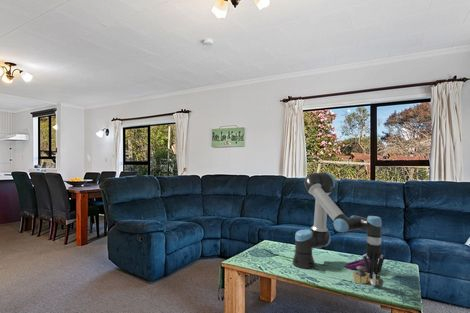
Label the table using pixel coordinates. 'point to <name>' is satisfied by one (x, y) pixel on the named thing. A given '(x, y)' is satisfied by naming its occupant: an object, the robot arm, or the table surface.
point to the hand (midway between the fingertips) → (372, 284)
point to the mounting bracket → (356, 264)
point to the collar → (365, 279)
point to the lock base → (362, 271)
